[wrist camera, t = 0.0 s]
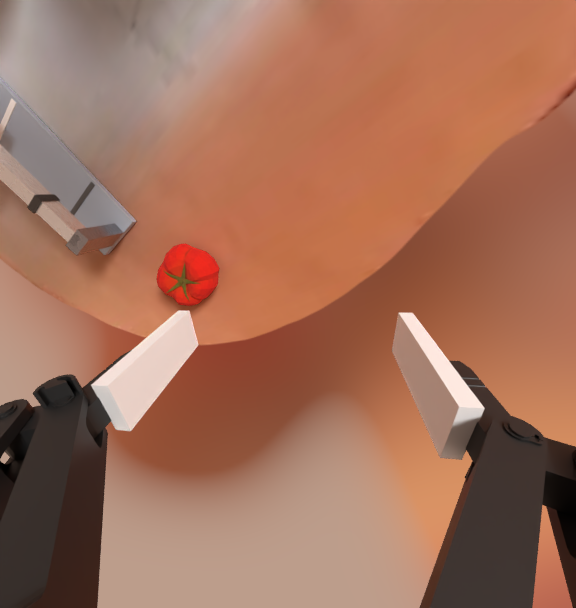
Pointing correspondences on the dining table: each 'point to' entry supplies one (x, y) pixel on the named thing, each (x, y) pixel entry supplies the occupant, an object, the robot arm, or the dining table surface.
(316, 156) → the dining table surface
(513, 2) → the dining table surface
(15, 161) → the rail
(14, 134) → the board
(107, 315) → the dining table surface
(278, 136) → the dining table surface
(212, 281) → the tomato
